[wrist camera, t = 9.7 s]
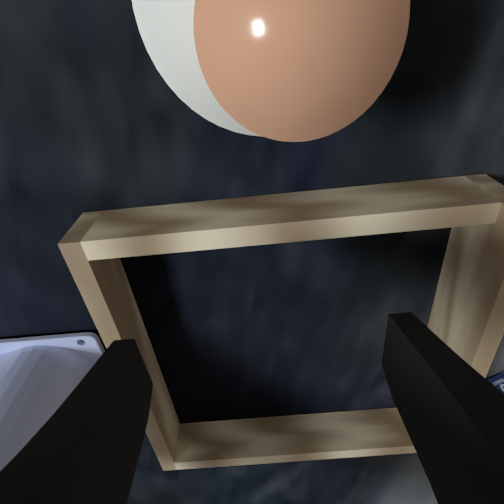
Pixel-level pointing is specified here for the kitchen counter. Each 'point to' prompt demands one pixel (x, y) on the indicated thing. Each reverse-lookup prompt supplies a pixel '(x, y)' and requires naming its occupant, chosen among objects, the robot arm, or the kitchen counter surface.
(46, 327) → the kitchen counter surface
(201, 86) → the saucer
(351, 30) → the peach drawer knob
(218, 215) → the frame
